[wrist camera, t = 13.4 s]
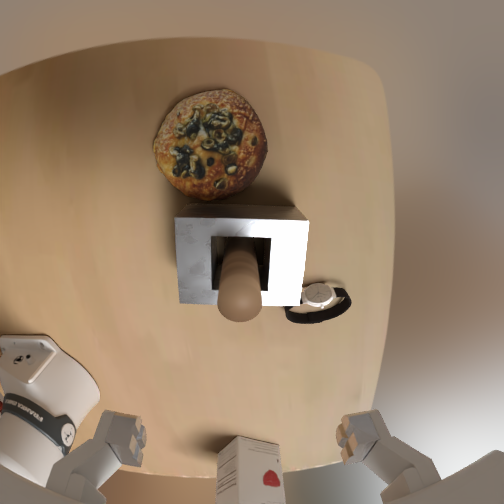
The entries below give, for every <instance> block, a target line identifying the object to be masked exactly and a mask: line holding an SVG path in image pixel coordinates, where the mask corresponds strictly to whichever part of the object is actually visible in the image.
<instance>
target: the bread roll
mask: <svg viewBox="0 0 504 504" xmlns="http://www.w3.org/2000/svg"><path fill="white" fill-rule="evenodd" d="M153 151H154V153H155V158H156V160H157V167H158V169H159V171H160V172H161V173H163V174H164V175H165V177H166V178H167V179H168V181H169V182H170V183H171V184H172V185H173V186H174V187H176V188H177V189H179V190H180V191H181V192H183V193H184V194H185V195H186V196H188V197H194V198H197V199H200V200H202V201H213V200H222V199H226V198H228V197H230V196H233V195H235V194H237V193H239V192H241V191H243V190H244V189H245V188H246V187H248V186H249V185H250V184H251V183H252V182H253V181H254V179H255V178H256V177H257V175H258V174H259V172H260V170H261V168H262V165H263V163H264V160H265V158H266V155H267V152H268V150H267V139H266V137H265V133H264V129H263V127H262V124H261V122H260V120H259V118H258V116H257V114H256V113H255V111H254V109H253V108H252V107H251V105H250V104H249V103H248V102H247V101H246V100H245V99H244V98H243V97H241V96H240V95H238V94H236V93H235V92H233V91H231V90H228V89H227V90H226V89H222V90H214V91H206V92H203V93H200V94H196V95H194V96H190V97H188V98H185V99H183V100H182V101H181V102H179V103H178V104H177V105H176V106H175V107H174V109H173V110H172V111H171V112H170V113H169V114H168V115H167V116H166V119H165V121H164V122H163V123H162V126H161V128H160V131H159V132H158V137H157V138H156V139H155V141H154V146H153Z"/></svg>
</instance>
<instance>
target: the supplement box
mask: <svg viewBox="0 0 504 504" xmlns="http://www.w3.org/2000/svg"><path fill="white" fill-rule="evenodd" d="M216 504H286V501H285V493H284V484H283V475H282V467H281V458H280V449H279V445H275V444H271V443H266V442H262V441H257V440H253V439H249V438H245V437H241V436H237V437H236V438H235V439H234V440H233V441H231V442H230V443H229V444H228V445H227V446H226V447H225V448H224V449H223V450H221V451H220V452H219V453H218V463H217V482H216Z"/></svg>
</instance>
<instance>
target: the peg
mask: <svg viewBox="0 0 504 504" xmlns="http://www.w3.org/2000/svg"><path fill="white" fill-rule="evenodd" d="M217 306H218V309H219V311H220V313H221V314H222V315H223V316H224V317H225V318H227V319H229V320H231V321H235V322H245V321H249V320H251V319H253V318H254V317H256V316H257V315H258V314H259V312H260V310H261V308H262V295H261V288H260V281H259V274H258V266H257V259H256V252H255V245H254V240H253V238H252V237H236V236H228V238H227V240H226V244H225V251H224V257H223V264H222V271H221V278H220V285H219V292H218V299H217Z"/></svg>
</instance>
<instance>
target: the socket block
mask: <svg viewBox="0 0 504 504" xmlns="http://www.w3.org/2000/svg"><path fill="white" fill-rule="evenodd" d="M308 226H309V221H308V220H307V219H306V217H305V216H304V215H303V214H302V213H301V212H300V211H299V210H298V208H297V207H294V206H272V205H241V204H187V205H186V206H185V207H184V208H183V209H182V210H181V211H180V212H179V213H178V215H177V216H176V217H175V241H176V259H177V274H178V288H179V299H180V303H185V304H210V305H217V299H218V292H219V285H220V278H221V271H222V264H217V236H236V237H265V243H264V261H263V265H257V266H258V274H259V281H260V288H261V295H262V306H299V304H300V296H301V288H302V280H303V272H304V264H305V255H306V245H307V236H308Z"/></svg>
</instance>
